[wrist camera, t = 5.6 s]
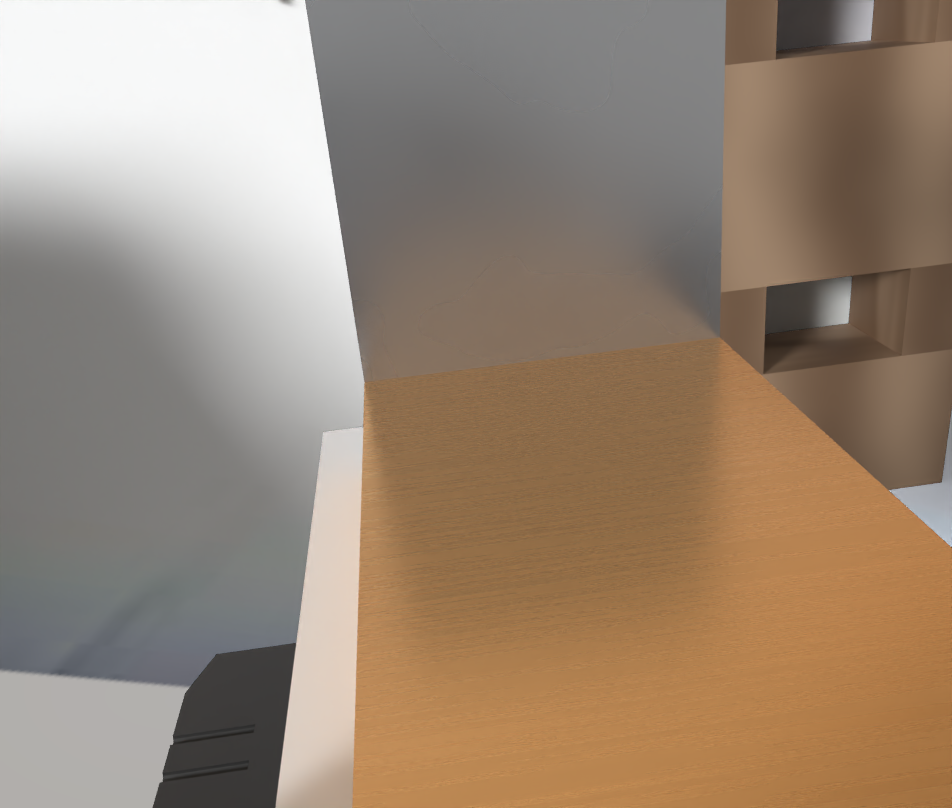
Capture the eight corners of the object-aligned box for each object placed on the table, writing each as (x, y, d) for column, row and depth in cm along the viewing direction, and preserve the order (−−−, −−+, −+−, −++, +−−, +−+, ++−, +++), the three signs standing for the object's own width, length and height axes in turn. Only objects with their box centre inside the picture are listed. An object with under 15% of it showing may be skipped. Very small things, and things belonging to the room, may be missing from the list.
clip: (426, 638, 20) (519, 1772, 7) (333, -1, 15) (30, -187, 2) (602, 612, 20) (1008, 1663, 7) (574, -25, 15) (1883, -346, 2)
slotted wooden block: (670, 470, 39) (701, 516, 35) (665, -243, 28) (710, -283, 25) (888, 439, 40) (941, 482, 36) (962, -268, 29) (1047, -311, 25)
